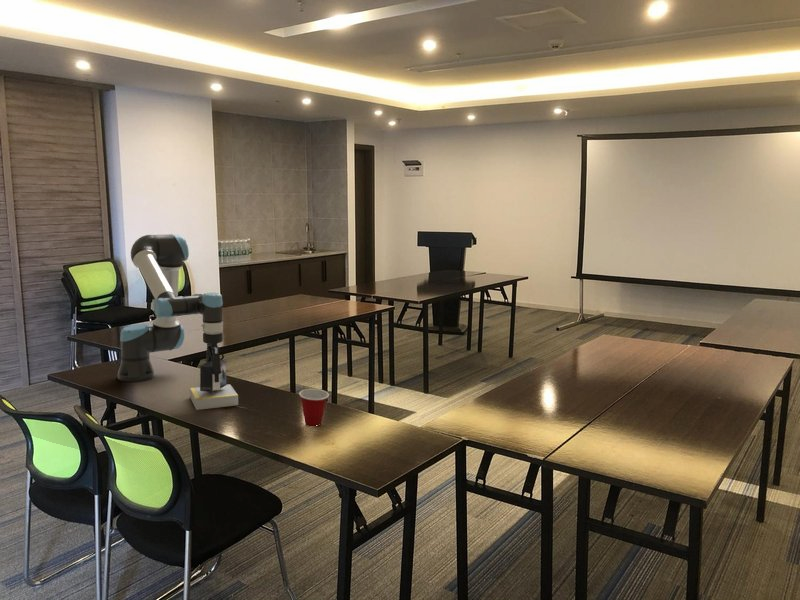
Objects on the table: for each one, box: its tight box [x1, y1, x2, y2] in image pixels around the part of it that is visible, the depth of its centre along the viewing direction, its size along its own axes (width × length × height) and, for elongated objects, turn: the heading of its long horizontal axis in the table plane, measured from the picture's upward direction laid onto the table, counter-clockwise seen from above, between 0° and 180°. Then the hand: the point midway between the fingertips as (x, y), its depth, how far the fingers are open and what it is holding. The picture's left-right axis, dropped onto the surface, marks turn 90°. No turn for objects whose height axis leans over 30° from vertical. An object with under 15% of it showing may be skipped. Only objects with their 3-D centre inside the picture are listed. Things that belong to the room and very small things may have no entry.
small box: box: [199, 360, 227, 392], centre depth 251 cm, size 11×6×10 cm, turn 169°
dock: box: [189, 384, 239, 411], centre depth 253 cm, size 16×16×4 cm
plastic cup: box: [298, 388, 330, 427], centre depth 230 cm, size 11×11×12 cm
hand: (213, 385), depth 252 cm, fingers closed on small box, 12 cm apart
